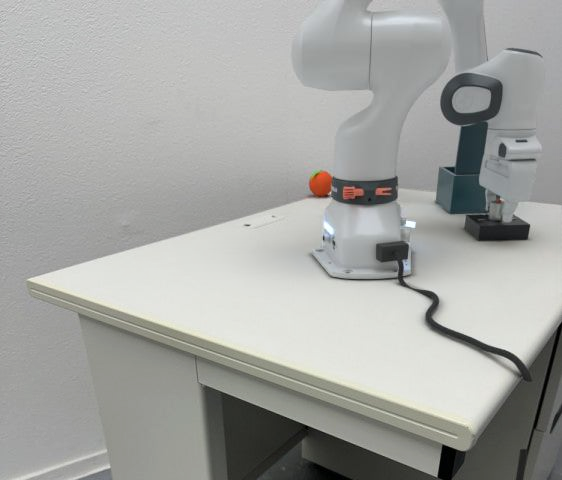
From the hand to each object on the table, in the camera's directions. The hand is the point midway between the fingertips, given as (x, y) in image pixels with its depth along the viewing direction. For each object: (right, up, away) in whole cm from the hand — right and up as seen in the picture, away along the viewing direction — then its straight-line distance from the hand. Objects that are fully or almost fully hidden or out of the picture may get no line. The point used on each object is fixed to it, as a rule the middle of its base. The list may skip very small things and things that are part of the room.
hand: (497, 216), depth 113 cm
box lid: (+1, +21, +11) cm, 24 cm away
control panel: (0, -3, +2) cm, 4 cm away
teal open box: (+2, +10, +25) cm, 27 cm away
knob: (0, -1, 0) cm, 1 cm away
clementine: (-34, +18, +43) cm, 58 cm away
